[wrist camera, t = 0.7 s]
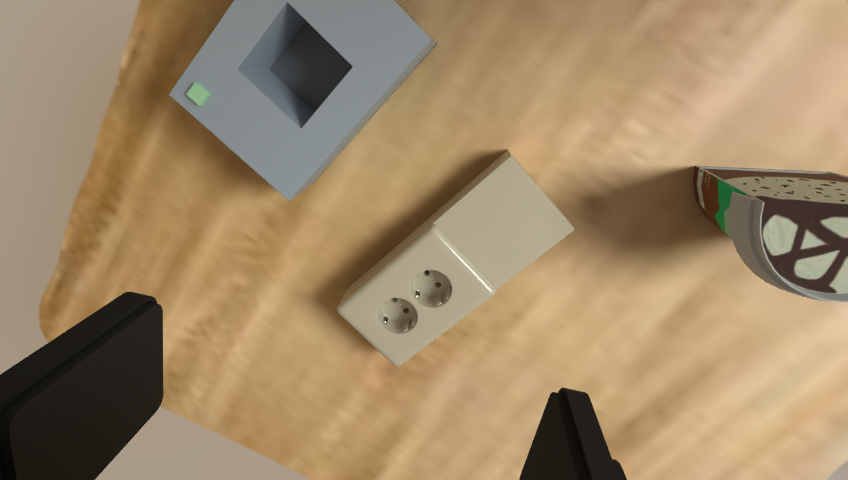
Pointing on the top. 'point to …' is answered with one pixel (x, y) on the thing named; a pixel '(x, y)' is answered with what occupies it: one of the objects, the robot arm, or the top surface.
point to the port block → (299, 80)
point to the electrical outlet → (454, 260)
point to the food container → (783, 225)
